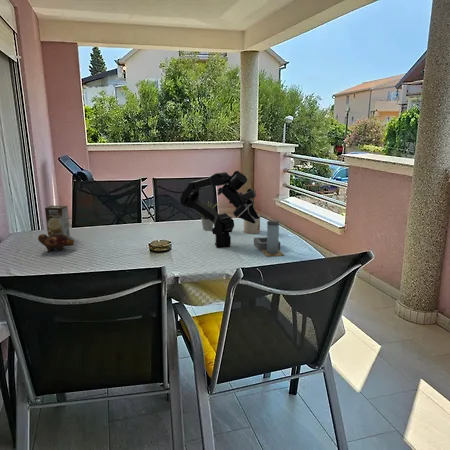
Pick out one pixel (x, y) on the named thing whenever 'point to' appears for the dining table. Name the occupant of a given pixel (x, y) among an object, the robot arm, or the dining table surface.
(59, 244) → the decorative turtle
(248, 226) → the teacup with lid
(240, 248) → the dining table surface
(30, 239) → the dining table surface
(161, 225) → the dining table surface
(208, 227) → the house plant
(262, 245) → the frame
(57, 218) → the coffee box
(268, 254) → the mat
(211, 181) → the robot arm
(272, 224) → the ball
